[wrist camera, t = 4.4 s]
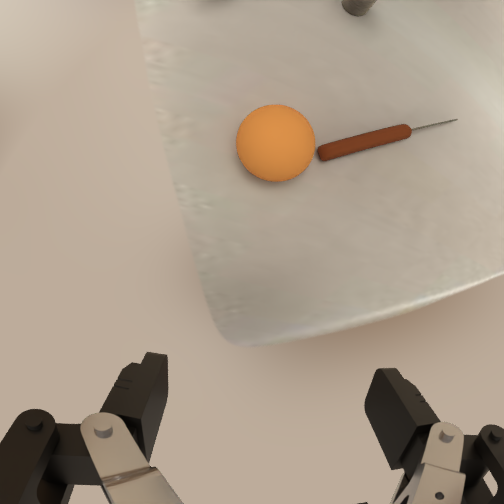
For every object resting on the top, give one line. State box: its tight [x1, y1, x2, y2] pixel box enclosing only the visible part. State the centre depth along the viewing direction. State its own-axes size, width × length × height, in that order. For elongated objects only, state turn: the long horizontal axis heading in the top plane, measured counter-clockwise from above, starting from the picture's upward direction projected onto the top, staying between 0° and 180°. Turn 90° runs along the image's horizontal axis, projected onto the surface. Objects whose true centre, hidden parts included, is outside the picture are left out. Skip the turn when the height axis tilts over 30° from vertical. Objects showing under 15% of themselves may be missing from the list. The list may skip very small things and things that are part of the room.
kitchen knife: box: [318, 119, 458, 161], centre depth 26 cm, size 16×1×2 cm, turn 109°
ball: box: [236, 105, 315, 182], centre depth 24 cm, size 6×6×6 cm
